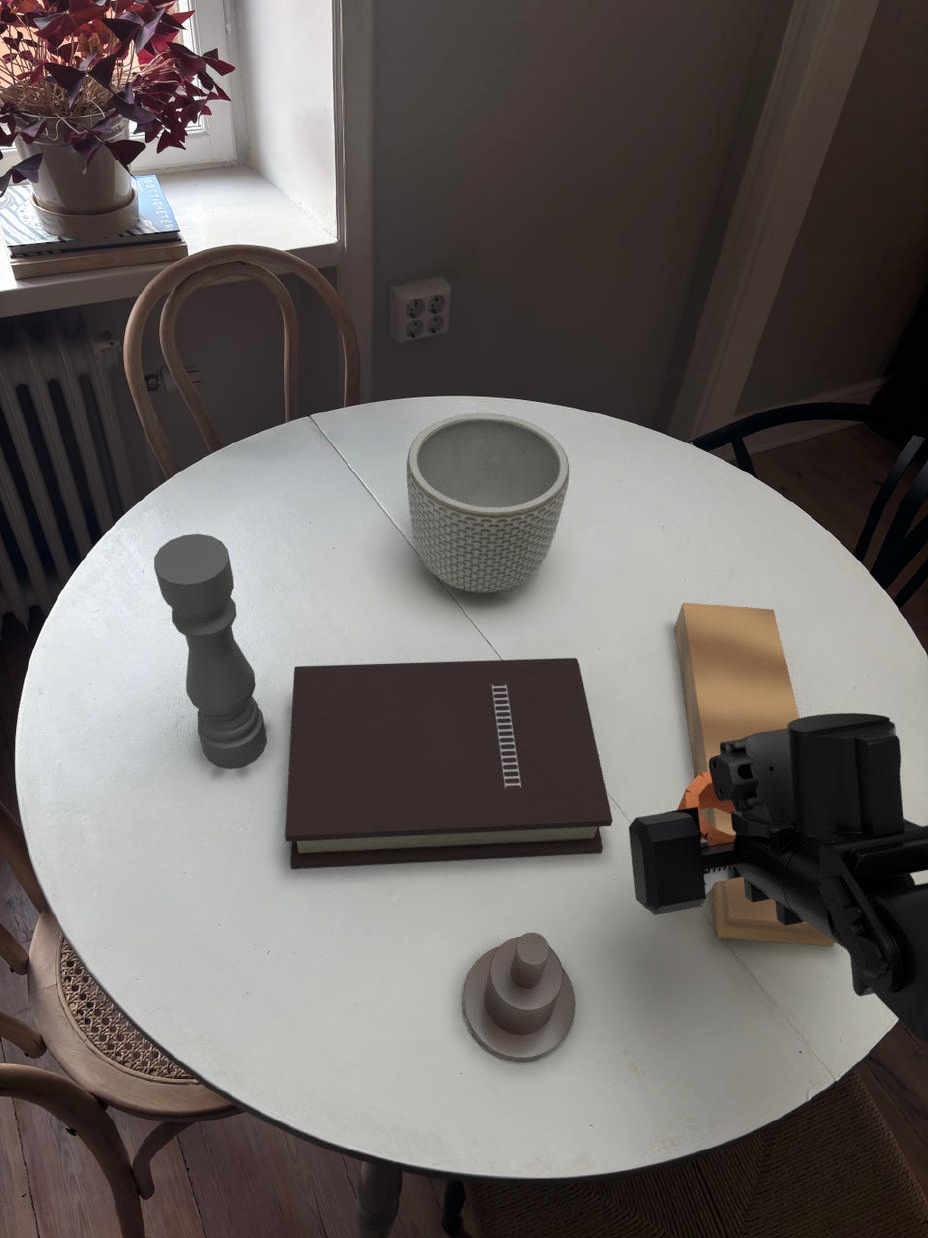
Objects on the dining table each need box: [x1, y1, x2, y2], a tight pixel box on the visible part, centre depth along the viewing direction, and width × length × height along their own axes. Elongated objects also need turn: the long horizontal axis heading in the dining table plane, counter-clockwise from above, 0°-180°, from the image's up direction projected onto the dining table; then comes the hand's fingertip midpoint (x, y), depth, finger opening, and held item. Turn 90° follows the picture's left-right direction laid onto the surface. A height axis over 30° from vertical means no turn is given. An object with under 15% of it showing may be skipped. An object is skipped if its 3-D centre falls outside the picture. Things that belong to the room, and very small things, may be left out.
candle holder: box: [153, 533, 268, 770], centre depth 79 cm, size 6×6×25 cm
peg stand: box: [462, 932, 576, 1063], centre depth 69 cm, size 9×9×11 cm
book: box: [284, 657, 613, 870], centre depth 86 cm, size 28×20×6 cm
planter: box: [406, 412, 570, 594], centre depth 101 cm, size 17×17×16 cm
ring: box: [676, 772, 736, 869], centre depth 69 cm, size 6×7×4 cm
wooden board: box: [674, 602, 837, 947], centre depth 88 cm, size 36×10×4 cm, turn 177°
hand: (711, 814), depth 70 cm, fingers closed on ring, 6 cm apart
